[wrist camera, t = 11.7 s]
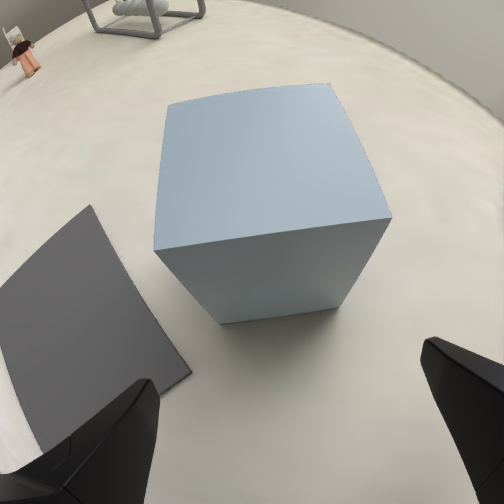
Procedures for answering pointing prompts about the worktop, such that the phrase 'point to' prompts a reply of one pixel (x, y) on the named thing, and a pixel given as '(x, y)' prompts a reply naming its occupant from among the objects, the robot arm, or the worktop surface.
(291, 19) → the worktop surface
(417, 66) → the worktop surface
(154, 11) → the newton's cradle
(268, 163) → the cover
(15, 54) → the grandmother figurine
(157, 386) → the mat
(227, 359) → the worktop surface
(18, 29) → the ink cartridge box
